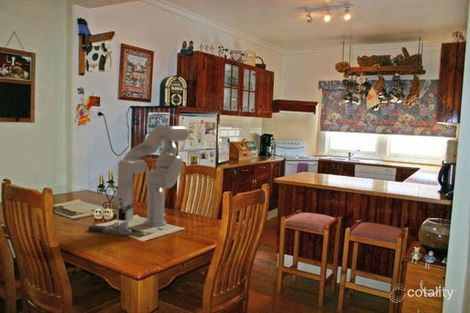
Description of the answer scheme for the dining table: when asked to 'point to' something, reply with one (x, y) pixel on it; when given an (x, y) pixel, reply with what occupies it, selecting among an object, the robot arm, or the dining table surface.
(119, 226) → the small socket
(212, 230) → the dining table surface
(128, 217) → the socket
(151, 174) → the robot arm
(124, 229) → the ratchet
